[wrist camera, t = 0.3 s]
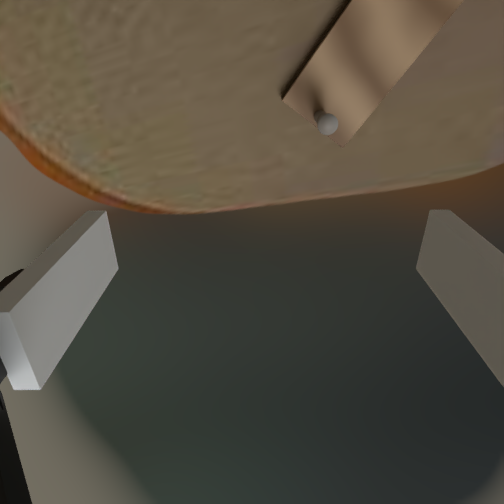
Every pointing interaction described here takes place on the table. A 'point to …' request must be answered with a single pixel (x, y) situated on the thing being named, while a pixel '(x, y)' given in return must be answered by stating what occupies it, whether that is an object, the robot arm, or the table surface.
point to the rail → (363, 61)
